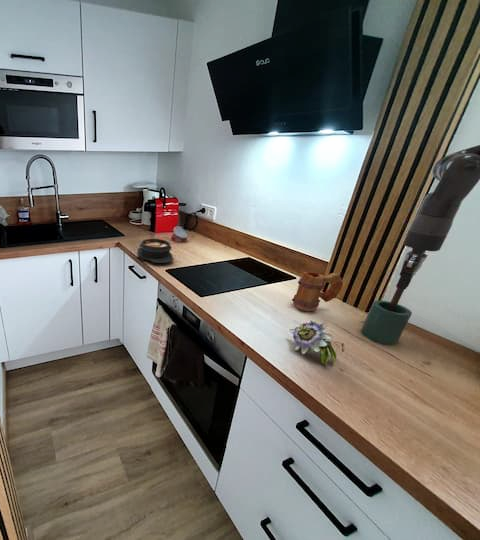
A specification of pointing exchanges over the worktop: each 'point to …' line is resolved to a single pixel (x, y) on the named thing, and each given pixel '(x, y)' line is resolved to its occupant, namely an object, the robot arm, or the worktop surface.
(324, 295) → the mug
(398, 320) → the green pencil cup
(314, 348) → the passion flower
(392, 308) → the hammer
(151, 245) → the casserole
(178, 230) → the canned food
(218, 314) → the worktop surface
